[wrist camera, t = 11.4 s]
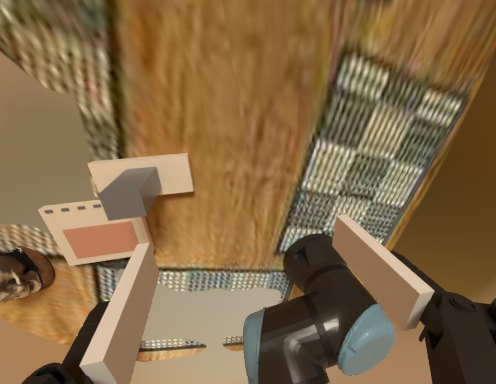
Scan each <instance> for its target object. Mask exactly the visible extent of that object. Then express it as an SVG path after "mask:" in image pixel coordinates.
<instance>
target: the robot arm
mask: <svg viewBox="0 0 496 384" xmlns="http://www.w3.org/2000/svg"><path fill="white" fill-rule="evenodd" d="M346 263H347V264H348V266H349V267H350V268H351V269H352V270H353V272H354V273H355V274H356V275H357V277H358V278H359V279H360V280H361V281H362V283H363V284H364V285H365V286H366V287H367V289H368V290H369V291H370V292H371V294H372V295H373V296H374V297H375V298H376V300H377V301H378V302H379V303H380V304H381V306H382V307H383V308H384V309H385V311H386V312H387V313H388V314H389V315H390V317H391V318H392V319H393V320H394V321H395V323H396V324H397V325H398V326H399V328H400V329H401V330H402V331H406V330H410V329H414V328H416V326H417V325H418V323H419V321H421V322H422V323H423V324H424V325H425V327H424V329H423V331H422V333H421V335H420V337H419V341H421V342H422V340H423V339H424V337H425V341H426V348H427V353H428V359H429V365H430V371H431V377H432V383H433V384H496V298H495V299H494V300H493V302H492V303H491V304H483V303H474V302H472V301H471V300H469V299H467V298H466V297H464V296H462V295H459V294H457V293H452V292H446V291H445V290H444V289H443V288H441V287H440V286H439V285H438V284H436V283H435V282H434V281H433V280H432V279H430V278H429V277H428V276H427V275H426V274H424V273H423V272H422V271H421V270H418V268H417V267H416V266H415V265H413V264H412V263H411V262H410V261H408V260H407V259H406V258H405V257H404V256H402V255H400V254H398V253H397V252H394V251H388V250H387V249H386V248H384V247H383V246H382V245H381V244H380V243H379V242H378V241H376V240H375V239H374V238H373V237H372V236H371V235H369V234H368V233H367V232H366V231H365V230H364V229H363V228H361V227H360V226H359V225H358V224H357V223H356V222H354V221H353V220H352V219H351V218H350V217H349V216H347V215H340V216H337V218H336V224H335V230H334V236H333V238H332V237H330V236H328V235H325V234H311V235H308V236H305V237H303V238H301V239H299V240H297V241H296V242H295V243H294V244H292V245H291V247H290V248H289V249H288V250H287V252H286V254H285V256H284V261H283V264H284V268H285V271H286V273H287V275H288V277H289V278H290V279H291V280H292V281H293V282H294V283H295V284H296V285H297V286H298V287H299V288H300V289H301V290H302V291H303V293H304V294H305V295H304V296H301V297H297V298H295V299H292V300H289V301H286V302H283V303H280V304H277V305H274V306H271V307H268V308H266V307H265V308H263V309H262V310H260V311H258V312H255V313H253V314H250V315H249V316H248V317H247V318H246V320H245V323H244V329H243V346H244V358H245V367H246V373H247V376H248V382H249V384H331V383H330V381H329V378H328V376H327V373H326V370H325V369H326V368H329V367H331V366H334V365H338V368H339V369H340V370H341V371H342V372H343V373H344V374H345V375H348V376H352V375H358V374H361V373H364V372H366V371H368V370H369V369H371V368H372V367H374V366H375V365H377V364H378V363H379V362H380V361H381V360H382V359H384V358H385V357H386V355H387V354H388V353H389V352H390V350H391V349H392V347H393V345H394V343H395V340H396V331H395V328H394V326H393V324H392V322H391V321H390V320H389V318H388V317H387V316H386V314H385V313H384V311H383V310H382V307H381V306H380V305H379V304H378V303H377V302H376V301H375V300H374V299H373V297H372V296H371V295H370V294H369V293H368V291H367V290H366V289H365V288H364V286H363V285H362V284H361V283H360V282H359V280H358V279H357V278H356V277H355V276H354V274H353V273H352V272H351V271H350V269H349V268H348V267H347V264H346ZM159 274H160V273H159V270H158V267H157V264H156V261H155V258H154V255H153V252H152V248H151V245H150V243H143V244H137V246H136V248H135V250H134V252H133V254H132V256H131V258H130V260H129V262H128V265H127V267H126V269H125V271H124V273H123V275H122V277H121V280H120V281H119V283H118V286H117V288H116V290H115V292H114V294H113V296H112V298H111V300H110V301H106V302H100V303H98V304H97V305H96V306H95V308H94V309H93V310H92V311H91V312H90V313H89V315H88V317H87V318H86V320H85V322H84V324H83V327H82V328H81V329H80V331H79V333H78V336H77V337H76V339H75V340H74V342H73V344H72V346H71V348H70V350H69V352H68V353H67V355H66V357H65V359H64V361H63V363H62V364H60V363H51V364H47V365H44V366H43V367H41V368H39V369H38V370H36V371H35V372H33V373H32V374H31V375H30V376H29V377H27V378H26V379H25V380H24V382H23V383H22V384H130V380H131V376H132V373H133V368H134V365H135V361H136V358H137V354H138V351H139V347H140V343H141V339H142V336H143V332H144V329H145V325H146V321H147V318H148V313H149V310H150V307H151V303H152V299H153V296H154V292H155V288H156V285H157V281H158V277H159Z"/></svg>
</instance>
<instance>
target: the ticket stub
mask: <svg viewBox="0 0 496 384" xmlns="http://www.w3.org/2000/svg"><path fill="white" fill-rule="evenodd" d="M88 167H89V169H90V172H91V174H92V177H93V179H94V182H95V184H96V187H97V189H98V192H99V194H98V196H99V199H100V201H101V204H102V206H103V209H104V211H105V213H106V216H107V218H108V221H112V220H120V219H128V218H136V217H144V216H147V215H148V213H149V211H150V209H151V207H152V205H153V203H154V201H155V199H156V197H157V196H158V195H165V194H174V193H183V192H192V191H194V185H193V179H192V173H191V168H190V162H189V156H188V153H183V154H171V155H160V156H149V157H137V158H126V159H114V160H103V161H92V162H90V163H88Z"/></svg>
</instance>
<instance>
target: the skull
mask: <svg viewBox="0 0 496 384" xmlns="http://www.w3.org/2000/svg"><path fill="white" fill-rule="evenodd" d="M14 246H16V245H14ZM17 247H19V248H21V249H22V248H23V249H22V250H23V252H22V253H21V254H20V252H18V250H20V249H16V250H12V251H14V252H11V253H6V254H5V255H0V302H2V303H5V302H7V301H10V300H16V299H17V298H24V297H26V296H28V294H30V293H34V292H37V291H39V290H42V289H44V288H45V287H47V286H48V285H49V284H50V282H51V281H52V278H53V272H54V271H53V269H52V265H51V264H50V263H49V261H47V259H46V258H45V257H44V256H43V255H41V254H40V253H37V252H35V251H33V250H31V249H29V248H25V247H22V246H17ZM22 250H21V251H22Z"/></svg>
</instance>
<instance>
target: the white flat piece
mask: <svg viewBox="0 0 496 384" xmlns="http://www.w3.org/2000/svg"><path fill="white" fill-rule="evenodd" d="M38 211H39V213H40V214H41V216H42V218H43V220H44V222H45V223H46V225H47V227H48V229H49V230H50V232H51V234H52V236H53V237H54V239H55V241H56V243H57V244H58V246H59V248H60V250H61V251H62V253H63V255H64V257H65V258H66V260H67V262H68V264H69V265H70V266H72V265H79V264H86V263H92V262H99V261H106V260H112V259H119V258H126V257H131V256H132V254H133V252H134V250H135V248H136V246H137V244H143V243H150V245H151V248H152V252H153V253H154V250H155V248H154V244H153V241H152V238H151V235H150V232H149V228H148V225H147V222H146V219H145V216H144V217H136V218H128V219H120V220H112V221H108V218H107V216H106V213H105V211H104V209H103V206H102V204H101V201H100V200H94V201H85V202H76V203H66V204H58V205H48V206H43V207H42V208H40V209H39V210H38Z"/></svg>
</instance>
